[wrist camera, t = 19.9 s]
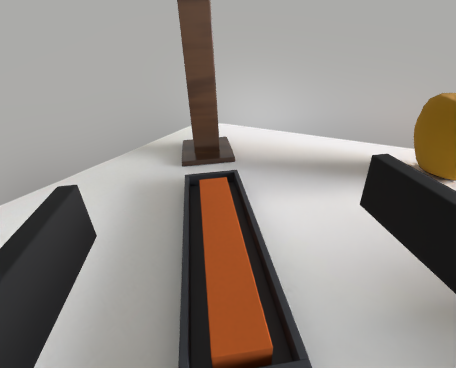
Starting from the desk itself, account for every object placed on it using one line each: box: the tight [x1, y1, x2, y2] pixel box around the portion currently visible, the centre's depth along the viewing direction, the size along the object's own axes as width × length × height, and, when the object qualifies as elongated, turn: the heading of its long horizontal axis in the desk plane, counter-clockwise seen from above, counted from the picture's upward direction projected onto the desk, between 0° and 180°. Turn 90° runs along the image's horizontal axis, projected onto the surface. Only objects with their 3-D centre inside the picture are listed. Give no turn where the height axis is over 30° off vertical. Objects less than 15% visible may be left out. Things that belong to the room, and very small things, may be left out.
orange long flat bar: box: [199, 177, 273, 368], centre depth 27 cm, size 24×4×2 cm, turn 7°
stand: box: [177, 0, 235, 166], centre depth 45 cm, size 14×10×30 cm
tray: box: [179, 170, 312, 368], centre depth 28 cm, size 28×8×2 cm, turn 8°
